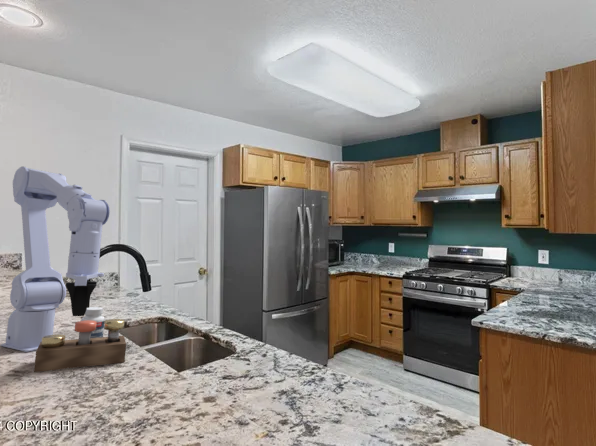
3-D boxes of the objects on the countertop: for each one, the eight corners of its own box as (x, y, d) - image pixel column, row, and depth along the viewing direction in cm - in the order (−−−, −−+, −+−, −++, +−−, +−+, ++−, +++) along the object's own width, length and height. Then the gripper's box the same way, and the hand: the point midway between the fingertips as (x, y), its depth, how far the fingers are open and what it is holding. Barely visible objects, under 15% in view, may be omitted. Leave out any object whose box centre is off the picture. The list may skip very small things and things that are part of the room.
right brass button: (102, 348, 74) (104, 323, 75) (102, 343, 78) (104, 319, 78) (122, 346, 77) (125, 322, 77) (121, 341, 80) (123, 318, 80)
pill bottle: (91, 347, 84) (94, 311, 85) (73, 345, 85) (76, 309, 86) (107, 342, 89) (110, 307, 90) (90, 339, 90) (93, 305, 91)
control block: (33, 372, 67) (36, 351, 67) (38, 361, 73) (40, 342, 73) (124, 362, 75) (126, 343, 76) (122, 352, 81) (123, 335, 82)
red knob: (72, 351, 72) (74, 325, 72) (73, 345, 75) (75, 321, 75) (94, 349, 74) (96, 323, 74) (94, 344, 77) (96, 319, 78)
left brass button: (37, 367, 69) (40, 340, 69) (40, 361, 72) (43, 335, 72) (61, 365, 71) (64, 338, 71) (63, 359, 74) (66, 333, 75)
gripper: (106, 254, 71) (99, 321, 70) (105, 252, 83) (99, 308, 82) (65, 253, 67) (58, 323, 66) (70, 251, 80) (64, 310, 79)
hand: (78, 315), depth 74 cm, fingers closed
